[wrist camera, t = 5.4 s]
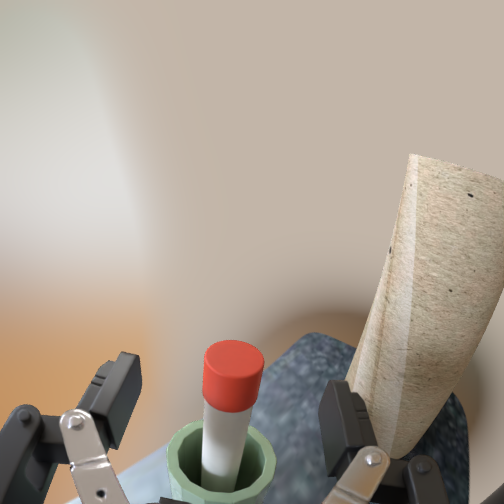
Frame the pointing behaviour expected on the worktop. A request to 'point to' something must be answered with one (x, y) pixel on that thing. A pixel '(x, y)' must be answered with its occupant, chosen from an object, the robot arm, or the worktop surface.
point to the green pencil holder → (190, 466)
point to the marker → (227, 410)
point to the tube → (430, 298)
